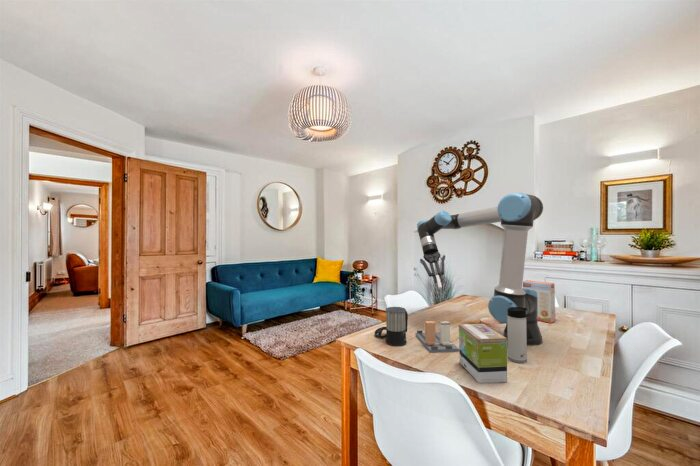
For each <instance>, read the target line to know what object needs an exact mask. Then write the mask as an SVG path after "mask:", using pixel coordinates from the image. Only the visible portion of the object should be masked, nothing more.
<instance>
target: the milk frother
mask: <svg viewBox="0 0 700 466" xmlns="http://www.w3.org/2000/svg"><path fill="white" fill-rule="evenodd" d="M384 310H385V321H386V324H385V326H382V327H378V328H377V329H375V330H374V335H375V336H376V337H377V338H380V339H385V338H386V339H385V343H386V344H387V345H390V346H394V347H402V346H404V345H407V344H408V343H407V332H408V320H409V319H408V318H409V317H408V316H409V315H408V311H407V309H406V308H405V307H402V306H390V307H389V306H388V307H386V308H385V309H384ZM383 331H386V333H385V334H383V335H382V333H383Z"/></svg>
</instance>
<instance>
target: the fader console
mask: <svg viewBox="0 0 700 466" xmlns="http://www.w3.org/2000/svg"><path fill="white" fill-rule="evenodd" d="M415 335H416V336H415V337H416V338H417V339H418V341H419V342H420V341H421V342H420V343H421V344H422V345H423V346H424V348H425V349H426V350H427V351H428V352H429V353H430V354H431V353H433V354H436V353H437V354H438V353H459V347H458V346H457V345H455V344H454V343H453V342H452V341H451V340H450V345H442V344H441V343H440V332H439V331H437V332H436V322H435V321H434V320H429V321H428V320H426V321H424V332H423V330H422V329H421V330H420V329H418V330H416V332H415Z"/></svg>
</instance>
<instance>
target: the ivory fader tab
mask: <svg viewBox="0 0 700 466" xmlns="http://www.w3.org/2000/svg"><path fill="white" fill-rule="evenodd" d="M438 322H439V326H438V327H439V331H438V332H440V343H441V344H442V345H450V341H451V323H450V321H448V320H447V321H438Z"/></svg>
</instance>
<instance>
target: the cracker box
mask: <svg viewBox="0 0 700 466" xmlns="http://www.w3.org/2000/svg"><path fill="white" fill-rule="evenodd" d="M555 284H556V283H554V282H546V281H545V282H544V281H536V280H523V283H522V288H525V289H531V290H535V291H536V292H537V297H538V299H537V308H538V319H537V321H539V322H543V323H548V324H553V323H554V322H556V296H555V295H556V291H555V290H556V289H555V288H556V287H555Z"/></svg>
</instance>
